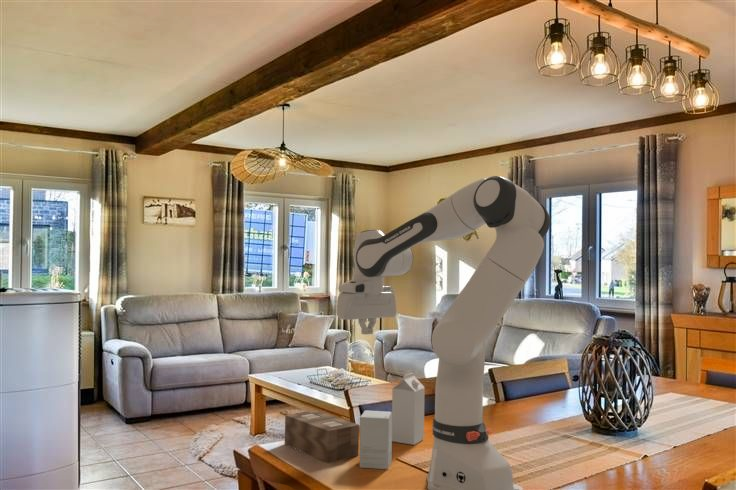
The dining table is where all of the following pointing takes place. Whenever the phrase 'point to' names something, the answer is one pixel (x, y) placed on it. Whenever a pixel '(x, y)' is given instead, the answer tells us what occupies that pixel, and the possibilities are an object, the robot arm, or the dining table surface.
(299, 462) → the dining table surface
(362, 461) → the supplement box
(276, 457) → the dining table surface
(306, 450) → the walnut block
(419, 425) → the milk carton
